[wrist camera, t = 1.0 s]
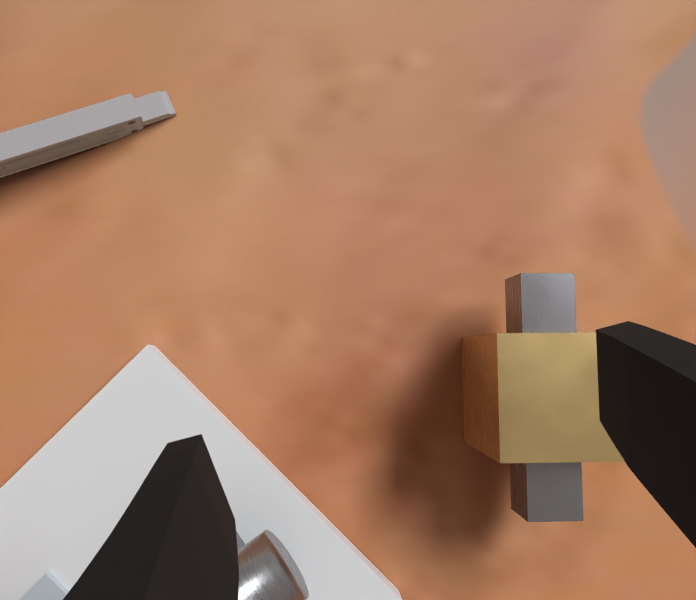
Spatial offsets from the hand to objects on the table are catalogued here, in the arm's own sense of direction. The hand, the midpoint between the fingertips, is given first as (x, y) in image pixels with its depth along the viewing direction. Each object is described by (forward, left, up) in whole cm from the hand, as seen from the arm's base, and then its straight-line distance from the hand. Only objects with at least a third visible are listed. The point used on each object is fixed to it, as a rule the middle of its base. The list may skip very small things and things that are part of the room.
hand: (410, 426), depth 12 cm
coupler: (-4, -4, -13) cm, 15 cm away
